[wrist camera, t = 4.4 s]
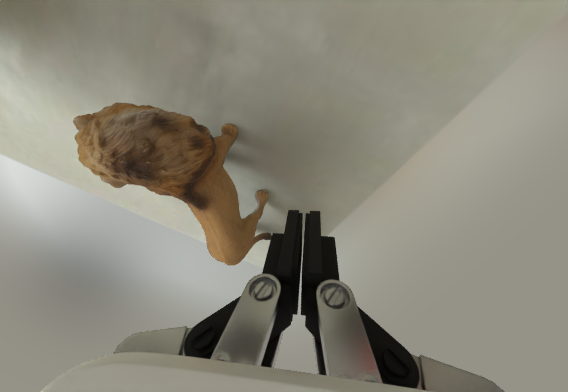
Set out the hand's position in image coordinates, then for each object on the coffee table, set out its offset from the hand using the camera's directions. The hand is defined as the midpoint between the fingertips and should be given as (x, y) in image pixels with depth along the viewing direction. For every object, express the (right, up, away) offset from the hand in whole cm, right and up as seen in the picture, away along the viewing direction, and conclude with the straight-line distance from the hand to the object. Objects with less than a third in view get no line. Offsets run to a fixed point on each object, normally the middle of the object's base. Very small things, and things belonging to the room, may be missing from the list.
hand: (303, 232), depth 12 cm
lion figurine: (-6, +4, +7) cm, 10 cm away
